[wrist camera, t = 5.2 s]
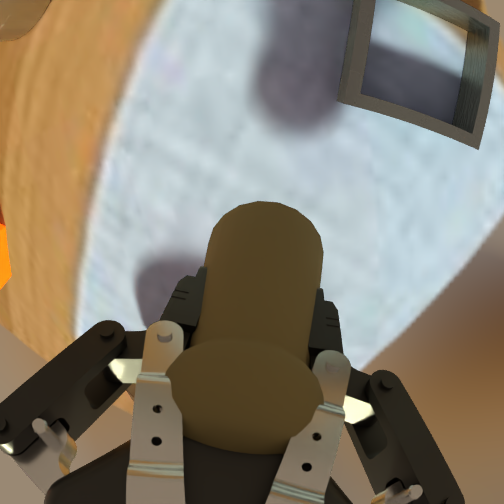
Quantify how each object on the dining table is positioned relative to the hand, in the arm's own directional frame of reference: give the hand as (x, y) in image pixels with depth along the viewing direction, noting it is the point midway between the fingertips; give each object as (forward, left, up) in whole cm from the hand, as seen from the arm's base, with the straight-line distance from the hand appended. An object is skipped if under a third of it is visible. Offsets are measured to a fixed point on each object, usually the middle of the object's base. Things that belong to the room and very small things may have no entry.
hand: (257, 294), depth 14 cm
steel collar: (+7, +13, -10) cm, 18 cm away
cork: (0, 0, -4) cm, 4 cm away
